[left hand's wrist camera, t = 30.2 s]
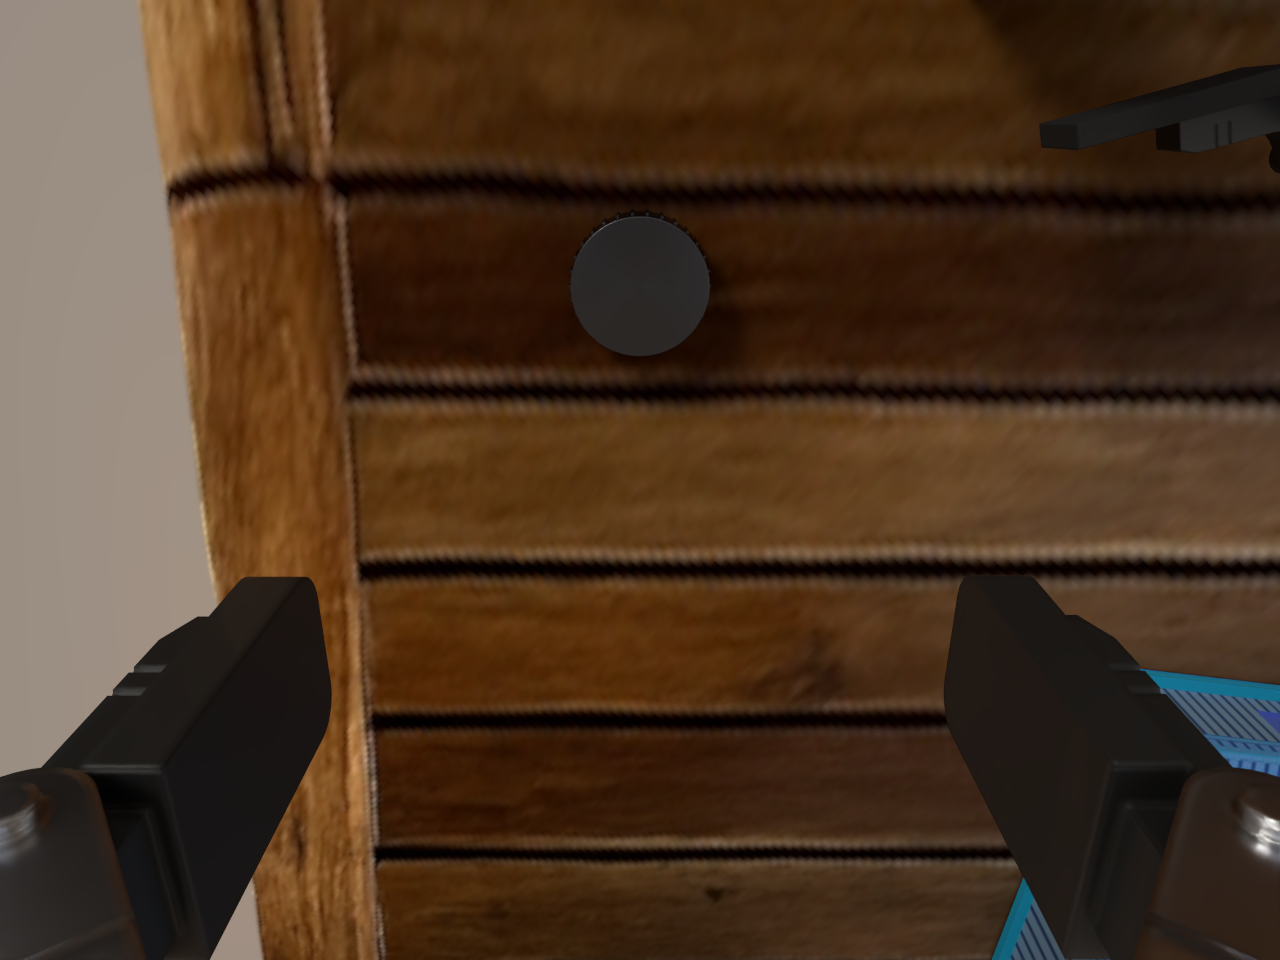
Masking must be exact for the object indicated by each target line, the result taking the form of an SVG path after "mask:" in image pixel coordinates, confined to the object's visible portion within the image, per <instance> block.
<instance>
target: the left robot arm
mask: <svg viewBox="0 0 1280 960" xmlns="http://www.w3.org/2000/svg"><path fill="white" fill-rule="evenodd" d="M944 706H945V713H946V719H947V723H948V727H949V729H950V732H951V735H952V737H953V739H954V741H955V743H956V745H957V747H958V749H959V751H960V753H961V755H962V757H963V759H964V761H965V763H966V764H967V766H968V768H969V770H970V772H971V774H972V776H973V778H974V780H975V782H976V784H977V786H978V788H979V790H980V792H981V794H982V796H983V798H984V800H985V802H986V804H987V806H988V808H989V810H990V812H991V814H992V816H993V818H994V820H995V822H996V824H997V826H998V828H999V830H1000V832H1001V834H1002V836H1003V838H1004V840H1005V842H1006V844H1007V846H1008V848H1009V850H1010V852H1011V854H1012V856H1013V858H1014V859H1015V861H1016V863H1017V865H1018V867H1019V869H1020V871H1021V873H1022V875H1023V877H1024V879H1025V881H1026V883H1027V885H1028V887H1029V889H1030V891H1031V893H1032V895H1033V897H1034V899H1035V901H1036V903H1037V905H1038V907H1039V909H1040V911H1041V913H1042V915H1043V917H1044V919H1045V921H1046V923H1047V925H1048V927H1049V929H1050V931H1051V933H1052V935H1053V937H1054V939H1055V941H1056V943H1057V945H1058V947H1059V949H1060V951H1061V953H1062V954H1063V956H1064V958H1065V959H1111V960H1280V777H1278V776H1274V775H1271V774H1268V773H1265V772H1260V771H1255V770H1251V769H1244V768H1236V767H1232V766H1231V765H1230V763H1229V762H1228V761H1227V760H1226V759H1225V758H1224V757H1223V756H1222V755H1221V754H1220V752H1219V751H1218V750H1217V749H1216V748H1215V747H1214V746H1213V745H1212V744H1211V743H1210V742H1209V740H1208V739H1207V738H1206V737H1205V736H1204V735H1203V734H1202V733H1201V732H1200V731H1199V730H1198V728H1197V727H1196V726H1195V725H1194V724H1193V723H1192V722H1191V721H1190V720H1189V719H1188V717H1187V716H1186V715H1185V714H1184V713H1183V712H1182V711H1181V710H1180V709H1179V708H1178V707H1177V705H1176V704H1175V703H1174V702H1173V701H1172V700H1171V699H1170V698H1169V697H1168V696H1167V694H1161V692H1160V687H1159V686H1158V685H1157V684H1156V682H1155V681H1154V680H1153V679H1152V678H1151V677H1150V676H1149V675H1148V674H1147V673H1146V671H1140V665H1139V664H1138V663H1137V662H1136V661H1135V659H1134V658H1133V657H1132V656H1131V655H1130V654H1129V653H1128V652H1127V651H1126V650H1125V649H1124V647H1123V646H1122V645H1121V644H1120V643H1119V642H1118V641H1117V640H1116V639H1115V638H1114V637H1112V636H1111V635H1109V634H1107V633H1106V632H1104V631H1102V630H1101V629H1099V628H1097V627H1096V626H1094V625H1092V624H1091V623H1089V622H1087V621H1086V620H1084V619H1082V618H1081V617H1079V616H1077V615H1065V614H1064V613H1063V612H1062V610H1061V609H1060V608H1059V607H1058V606H1057V605H1056V603H1055V602H1054V601H1053V600H1052V599H1051V598H1050V596H1049V595H1048V594H1047V593H1046V592H1045V591H1044V589H1043V588H1042V587H1041V586H1040V585H1039V584H1038V582H1037V581H1036V580H1035V579H1034V578H1033V577H1031V576H1027V575H969V576H966V577H965V578H964V579H963V581H962V582H961V585H960V587H959V591H958V596H957V602H956V609H955V615H954V622H953V628H952V635H951V642H950V648H949V655H948V662H947V668H946V675H945V682H944ZM330 710H331V681H330V674H329V668H328V661H327V655H326V648H325V642H324V635H323V629H322V622H321V616H320V609H319V602H318V596H317V592H316V588H315V586H314V584H313V582H312V581H311V579H309V578H308V577H245V578H243V579H241V580H240V581H239V582H238V583H237V584H236V586H235V587H234V588H233V589H232V590H231V591H230V593H229V594H228V595H227V596H226V597H225V598H224V599H223V601H222V602H221V603H220V604H219V605H218V606H217V608H216V609H215V610H214V611H213V612H212V613H211V615H210V616H209V617H196V618H195V619H193V620H191V621H190V622H188V623H186V624H185V625H183V626H181V627H180V628H178V629H176V630H175V631H173V632H171V633H170V634H168V635H166V636H165V637H163V638H161V639H160V640H159V641H158V642H157V643H156V644H155V645H154V646H153V647H152V648H151V649H150V650H149V651H148V652H147V654H146V655H145V656H144V657H143V658H142V659H141V660H140V661H139V662H138V663H137V664H136V666H135V667H134V672H133V673H128V674H127V675H126V676H125V677H124V678H123V680H122V681H121V682H120V683H119V684H118V685H117V686H116V687H115V688H114V689H113V695H112V696H107V697H106V698H105V699H104V700H103V701H102V702H101V703H100V704H99V706H98V707H97V708H96V709H95V710H94V711H93V712H92V713H91V714H90V715H89V716H88V718H87V719H86V720H85V721H84V722H83V723H82V724H81V725H80V726H79V727H78V728H77V729H76V731H75V732H74V733H73V734H72V735H71V736H70V737H69V738H68V739H67V740H66V741H65V742H64V744H63V745H62V746H61V747H60V748H59V749H58V750H57V751H56V752H55V753H54V754H53V756H52V757H51V758H50V759H49V760H48V761H47V762H46V763H45V764H44V765H43V766H42V767H41V768H36V769H29V770H25V771H20V772H15V773H12V774H9V775H6V776H2V777H0V960H210V958H211V956H212V954H213V952H214V950H215V948H216V946H217V944H218V942H219V940H220V938H221V936H222V934H223V932H224V931H225V929H226V927H227V925H228V923H229V921H230V919H231V917H232V915H233V913H234V911H235V909H236V907H237V905H238V903H239V901H240V899H241V897H242V895H243V894H244V892H245V890H246V888H247V886H248V884H249V882H250V880H251V878H252V876H253V874H254V872H255V870H256V868H257V866H258V864H259V862H260V860H261V858H262V856H263V854H264V852H265V850H266V849H267V847H268V845H269V843H270V841H271V839H272V837H273V835H274V833H275V831H276V829H277V827H278V825H279V823H280V821H281V819H282V817H283V815H284V813H285V811H286V809H287V807H288V806H289V804H290V802H291V800H292V798H293V796H294V794H295V792H296V790H297V788H298V786H299V784H300V782H301V780H302V778H303V776H304V774H305V772H306V770H307V768H308V766H309V764H310V763H311V761H312V759H313V757H314V755H315V753H316V751H317V749H318V747H319V745H320V743H321V741H322V739H323V737H324V735H325V732H326V729H327V726H328V722H329V717H330Z"/></svg>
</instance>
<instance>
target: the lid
mask: <svg viewBox="0 0 1280 960" xmlns="http://www.w3.org/2000/svg"><path fill="white" fill-rule="evenodd" d="M581 245H582V247H581V249H580V251H577V252H576V254H575V257H574V259H576V260H575V262H574V264H573V266H572V268H571V270H570V273H572V274H571V282H570V284H569V288H570V290H571V302H572V303H573V307H574V310H575V313H576V316H577V317H578V319H579V321H580V323H581V324H582V326H583V327H584V329H585V330H586V331H587V332H588V333H589V335H590V336H591V337H592V338H594V339H595V340H596V341H597V342H598V343H600V344H601V345H603V346H604V347H606V348H608V349H610V350H612V351H614V352H617V353H620V354H624V355H629V356H651V355H656V354H660V353H663V352H666V351H668V350H670V349H672V348H674V347H676V346H677V345H679V344H680V343H682V342H683V341H684V340H685V339H686V338H688V337H689V336H690V334H691V333H692V332H693V331H694V330H695V329H696V327H697V326H698V324H699V323H700V321H701V319H702V317H703V316H704V313H705V310H706V307H707V303H708V302H709V290H710V288H711V284H710V282H709V274H708V273H710V270H709V268H708V266H707V264H706V262H705V260H704V259H705V258H706V257H705V254H704V252H703V250H702V251H700V249H699V247H698V245H699V243H698V241H697V239H696V238H693V237H692V236H691V235H690V234H689V231H688V229H687V227H685V228H683V227H682V226H681V225H680V224H678V223H677V221H676V219H675V218H673V220H672V219H670V218H668V217H666V216H664V215H663V213H662V212H660V214H658V213H654V212H649V210H648V209H646V211H634V209H631V212H626V213H622V214H620V212H618V213H617V215H616V216H614V217H612V218H610V219H608V220H607V219H606V218H605V219H604V220H603V223H602V224H600V225H599V226H598V227H597V228H595V227H593V228H592V231H591V234H590V235H589V236H588V237H587V238H584V239H583V241H582V243H581Z"/></svg>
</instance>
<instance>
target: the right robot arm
mask: <svg viewBox="0 0 1280 960" xmlns="http://www.w3.org/2000/svg"><path fill="white" fill-rule="evenodd" d="M1039 125H1040V136H1041V146H1042V147H1043V148H1057V149H1072V150H1080V149H1084V148H1087V147H1091V146H1095V145H1098V144H1102V143H1106V142H1109V141H1113V140H1117V139H1120V138H1124V137H1128V136H1131V135H1135V134H1139V133H1142V132H1146V131H1149V130H1153V129H1156V145H1157V150H1165V151H1173V152H1190V153H1199V152H1203V151H1206V150H1210V149H1214V148H1217V147H1221V146H1225V145H1228V144H1232V143H1236V142H1240V141H1243V140H1247V139H1251V138H1254V137H1258V136H1262V135H1265V136H1266V137H1267V138H1268V140H1269V141H1270V144H1271V146H1272V150H1271V152H1270V156H1269V163H1270V166H1271V168H1272V169H1273V170H1274V171H1275V172H1277V173H1280V64H1278V65H1267V66H1255V67H1243V68H1239V69H1235V70H1232V71H1228V72H1225V73H1221V74H1217V75H1214V76H1210V77H1207V78H1203V79H1199V80H1196V81H1192V82H1189V83H1185V84H1181V85H1178V86H1174V87H1171V88H1167V89H1163V90H1160V91H1156V92H1153V93H1149V94H1145V95H1142V96H1138V97H1135V98H1131V99H1128V100H1124V101H1120V102H1117V103H1113V104H1110V105H1106V106H1102V107H1099V108H1095V109H1092V110H1088V111H1084V112H1081V113H1077V114H1074V115H1070V116H1066V117H1063V118H1059V119H1056V120H1052V121H1048V122H1045V123H1041V124H1039Z"/></svg>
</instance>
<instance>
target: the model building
mask: <svg viewBox="0 0 1280 960" xmlns="http://www.w3.org/2000/svg"><path fill="white" fill-rule="evenodd" d="M1140 671H1146V673H1147V674H1148V675H1149V676H1150V677H1151V678H1152V679H1153V680H1154V681H1155V682H1156V684H1157V685H1158V686H1159V687H1160V692H1161V694H1167V696H1168V697H1169V698H1170V699H1171V700H1172V701H1173V702H1174V703H1175V704H1176V705H1177V707H1178V708H1179V709H1180V710H1181V711H1182V712H1183V713H1184V714H1185V715H1186V716H1187V717H1188V719H1189V720H1190V721H1191V722H1192V723H1193V724H1194V725H1195V726H1196V727H1197V728H1198V730H1199V731H1200V732H1201V733H1202V734H1203V735H1204V736H1205V737H1206V738H1207V739H1208V740H1209V742H1210V743H1211V744H1212V745H1213V746H1214V747H1215V748H1216V749H1217V750H1218V751H1219V752H1220V754H1221V755H1222V756H1223V757H1224V758H1225V759H1226V760H1227V761H1228V762H1229V763H1230V765H1231V766H1232V767H1236V768H1244V769H1251V770H1255V771H1260V772H1265V773H1268V774H1271V775H1274V776H1278V777H1280V685H1274V684H1265V683H1256V682H1248V681H1239V680H1231V679H1222V678H1214V677H1205V676H1197V675H1188V674H1180V673H1171V672H1162V671H1154V670H1145V669H1140ZM992 960H1111V959H1065V958H1064V956H1063V954H1062V953H1061V951H1060V949H1059V947H1058V945H1057V943H1056V941H1055V939H1054V937H1053V935H1052V933H1051V931H1050V929H1049V927H1048V925H1047V923H1046V921H1045V919H1044V917H1043V915H1042V913H1041V911H1040V909H1039V907H1038V905H1037V903H1036V901H1035V899H1034V897H1033V895H1032V893H1031V891H1030V889H1029V887H1028V885H1027V883H1026V881H1025V879H1024V877H1023V880H1022V883H1021V885H1020V888H1019V890H1018V893H1017V895H1016V898H1015V901H1014V903H1013V906H1012V908H1011V911H1010V914H1009V916H1008V919H1007V921H1006V924H1005V927H1004V929H1003V932H1002V934H1001V937H1000V940H999V942H998V945H997V947H996V950H995V953H994V955H993V958H992Z"/></svg>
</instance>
